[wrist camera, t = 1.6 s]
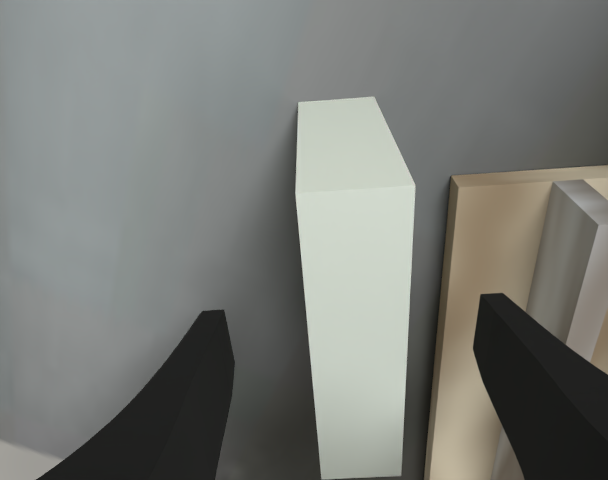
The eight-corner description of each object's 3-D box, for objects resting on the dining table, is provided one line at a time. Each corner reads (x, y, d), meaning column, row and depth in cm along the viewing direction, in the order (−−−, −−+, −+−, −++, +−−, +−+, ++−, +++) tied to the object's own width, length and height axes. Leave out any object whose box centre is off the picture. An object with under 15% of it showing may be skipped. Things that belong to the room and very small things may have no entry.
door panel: (373, 96, 16) (415, 185, 10) (373, 326, 21) (401, 475, 15) (298, 101, 16) (295, 193, 10) (316, 329, 21) (321, 479, 15)
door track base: (798, 152, 17) (922, 204, 14) (627, 509, 28) (672, 587, 25) (451, 175, 17) (487, 232, 14) (420, 518, 29) (435, 595, 25)
